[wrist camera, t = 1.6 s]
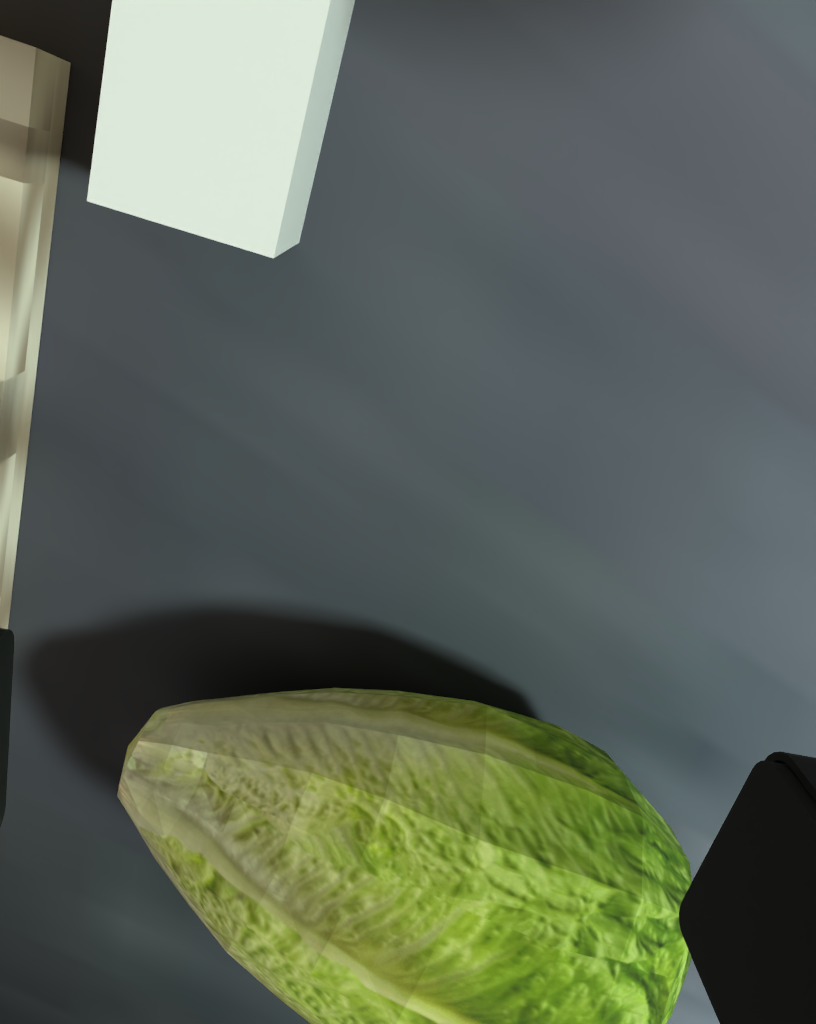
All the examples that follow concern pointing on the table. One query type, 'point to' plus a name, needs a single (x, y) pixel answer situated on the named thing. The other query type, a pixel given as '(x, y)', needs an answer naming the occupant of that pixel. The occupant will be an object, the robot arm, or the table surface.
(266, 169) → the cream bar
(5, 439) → the slot board
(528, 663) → the table surface
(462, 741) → the lettuce
